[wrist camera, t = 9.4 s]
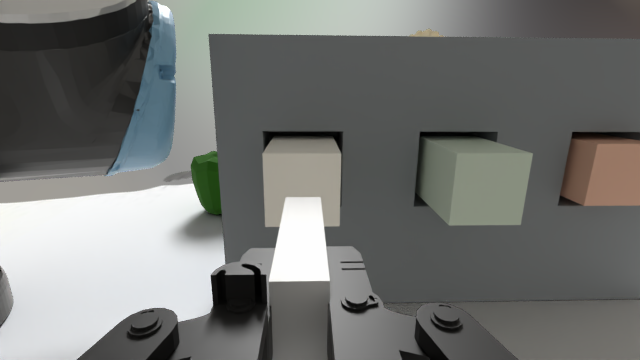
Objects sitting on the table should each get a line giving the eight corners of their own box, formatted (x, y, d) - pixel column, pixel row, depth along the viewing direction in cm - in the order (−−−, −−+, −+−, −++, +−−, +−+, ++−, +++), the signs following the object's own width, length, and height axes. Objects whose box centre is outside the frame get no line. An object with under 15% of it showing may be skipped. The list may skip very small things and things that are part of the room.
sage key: (449, 225, 21) (457, 153, 20) (414, 191, 27) (418, 135, 26) (520, 225, 21) (533, 153, 20) (468, 190, 28) (475, 136, 26)
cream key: (265, 226, 20) (262, 153, 19) (275, 191, 27) (274, 135, 26) (339, 226, 20) (341, 153, 19) (331, 191, 27) (332, 135, 26)
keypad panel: (228, 305, 27) (208, 34, 22) (245, 256, 35) (234, 47, 30) (642, 298, 29) (717, 40, 23) (571, 253, 36) (615, 51, 31)
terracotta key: (583, 205, 24) (597, 143, 23) (523, 179, 31) (532, 130, 30) (644, 205, 24) (660, 143, 23) (571, 179, 31) (581, 130, 30)
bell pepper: (185, 209, 48) (177, 138, 46) (235, 196, 54) (231, 132, 51) (217, 226, 43) (210, 146, 40) (269, 209, 48) (266, 138, 46)
